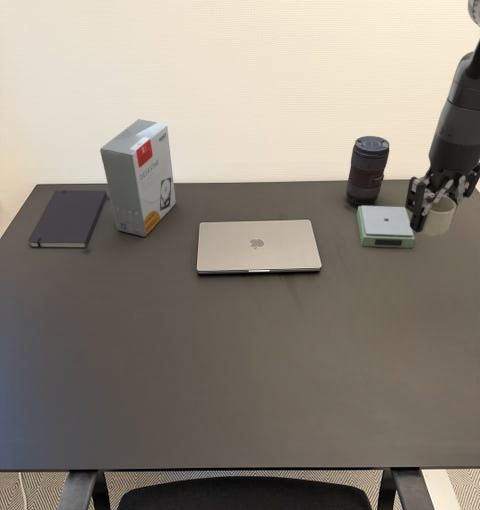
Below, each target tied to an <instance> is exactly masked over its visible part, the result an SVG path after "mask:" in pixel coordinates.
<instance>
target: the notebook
mask: <svg viewBox="0 0 480 510" xmlns="http://www.w3.org/2000/svg"><path fill="white" fill-rule="evenodd" d="M107 197H108V193H107V191H106V190H96V189H95V190H91V189H90V190H88V189H87V190H84V189H83V190H82V189H81V190H79V189H78V190H77V189H74V190H73V189H68V190H67V189H66V190H65V189H64V190H63V189H58V190H55V191H54V192H53V194H52V196H51V197H50V199H49V201H48V203H47V204H46V207H45V209H44V210H43V212H42V214H41V216H40V218H39V219H38V221H37V223H36V225H35V227H34V229H33V231H32V232H31V234H30V235H29V238H28V240H27V241H28V243H29V244H30V247H31V248H35V249H37V248H39V249H40V248H43V249H44V248H46V249H48V248H49V249H50V248H51V249H86V248H87V247H88V245H89V242H90V239H91V237H92V234H93V232H94V229H95V227H96V225H97V223H98V219H99V217H100V214H101V212H102V210H103V207H104V204H105V201H106V199H107Z"/></svg>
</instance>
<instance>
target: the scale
mask: <svg viewBox="0 0 480 510" xmlns="http://www.w3.org/2000/svg"><path fill="white" fill-rule="evenodd" d="M356 219H357V227H358V233H359V238H360V245H361V247H375V248H376V247H378V248H380V247H381V248H401V249H402V248H404V249H413V247H414V244H415V241H416V238H415V235H414V230H413V229H411V227H410V222H411V219H410V217H409V213H408V209H406V208H405V206H387V205H386V206H385V205H384V206H383V205H382V206H381V205H373V206H358V208H357V211H356Z"/></svg>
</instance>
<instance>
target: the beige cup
mask: <svg viewBox="0 0 480 510" xmlns="http://www.w3.org/2000/svg"><path fill="white" fill-rule="evenodd" d="M428 194H429V195H431V196H432V197H433V196H434V195H435V194H434V193H428ZM426 203H427V200H426V199H424V201H423V203H422V206H425V204H426ZM456 207H457V208H458V206H457V205H456V203H455V201H453V200H452V199H451V198H449V197H447V195H446V194H444V195H443V196H442V197H441V198H440V200H439V201H438V203H437V204H433V205H432V207H431V208H430V210H429V211H428V213H427V217H426V220H425V223H424V226H423V229H422V231H421V232H419V233H418V234H421V235H423V236H426V237H432V238H433V237H434V238H435V237H440V236H443V235H444V234H446V233H447V232H448V231H449V229H450V225H451V223H452V221H453V218H454V216H455V214H454V212H455V210H456V211H457V209H456ZM455 213H456V212H455ZM453 215H454V216H453ZM451 220H452V221H451Z"/></svg>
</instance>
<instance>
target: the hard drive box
mask: <svg viewBox="0 0 480 510" xmlns="http://www.w3.org/2000/svg"><path fill="white" fill-rule="evenodd" d="M169 137H170V136H169V129H168V123H163V122H157V121H152V120H145V119H140V118H138V119H137V120H136V121H134V122H133V123H131V124H130V125H128V127H126V128H125V129H124V130H122V131H121V132H120V133H118V134H117V135H116V136H115V137H113V138H112V139H111V140H110V141H108V142H107V143H105V144H104V145H102V146H101V147H100V149H99V151H100V156H101V161H102V165H103V169H104V170H103V171H104V174H105V178H106V183H107V188H108V192H109V197H110V201H111V205H112V210H113V216H114V219H115V224H116V230H117V231H119V232H124V233H127V234H131V235H135V236H140V237H143V238H145V237H147V236H148V235H149V233H150V232H152V231H153V230H154V229H155V227H156V226H157V225H158V224H159V222H160V221H162V219H163V218H164V217H165V216H166V215H167V214H168V213H169V212H170V211H171V209H172V208H173V207H174V206H175V205H176V204H177V199H176V193H175V192H176V191H175V184H174V183H175V181H174V174H173V165H172V156H171V147H170V139H169Z"/></svg>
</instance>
